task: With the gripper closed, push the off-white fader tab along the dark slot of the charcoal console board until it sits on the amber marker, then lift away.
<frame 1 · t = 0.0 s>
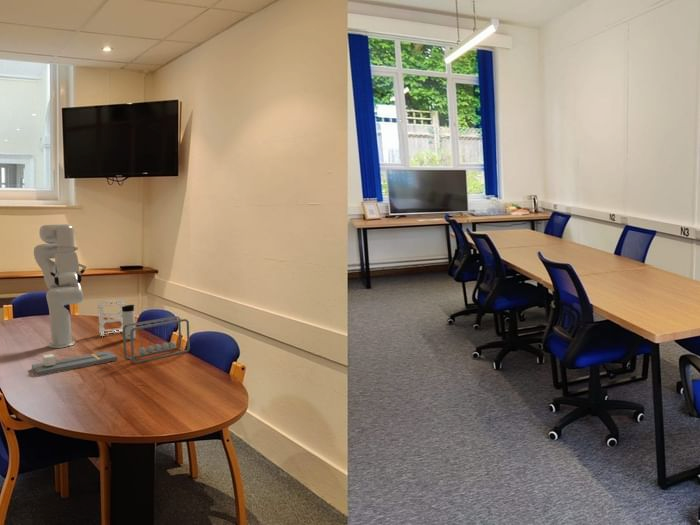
hand: (68, 284, 253), 37 cm above the table, tool pointing down, fingers open, 9 cm apart
console board: (75, 364, 242), on the table
film strip holder: (112, 333, 301), on the table
fader tab: (49, 360, 234), point 4 cm above the table, slide at 0.0 cm
newton's cradle: (158, 356, 256), on the table
travel mug: (130, 339, 287), on the table
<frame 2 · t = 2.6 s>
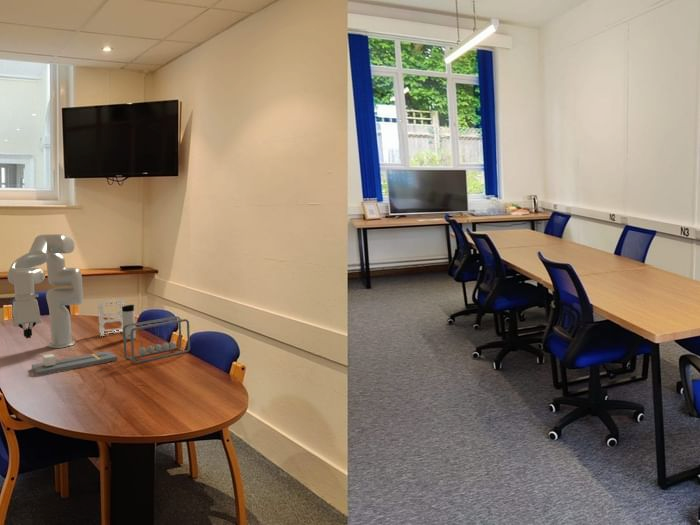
hand: (28, 337, 228), 17 cm above the table, tool pointing down, fingers closed
nothing on the table moved.
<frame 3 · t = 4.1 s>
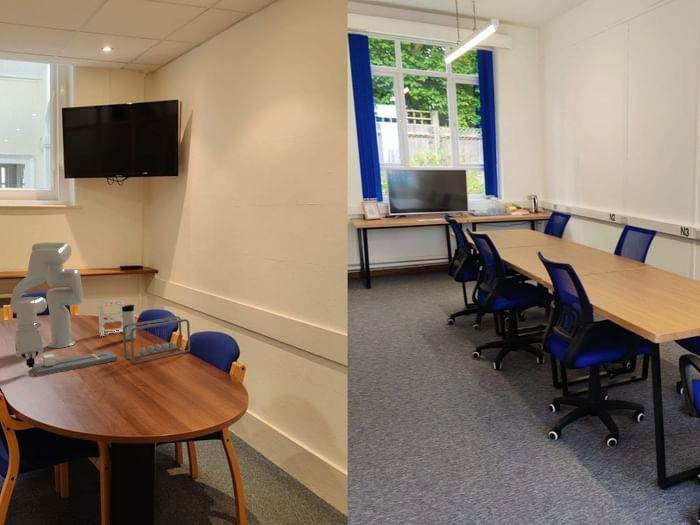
hand: (30, 366, 230), 3 cm above the table, tool pointing down, fingers closed
nothing on the table moved.
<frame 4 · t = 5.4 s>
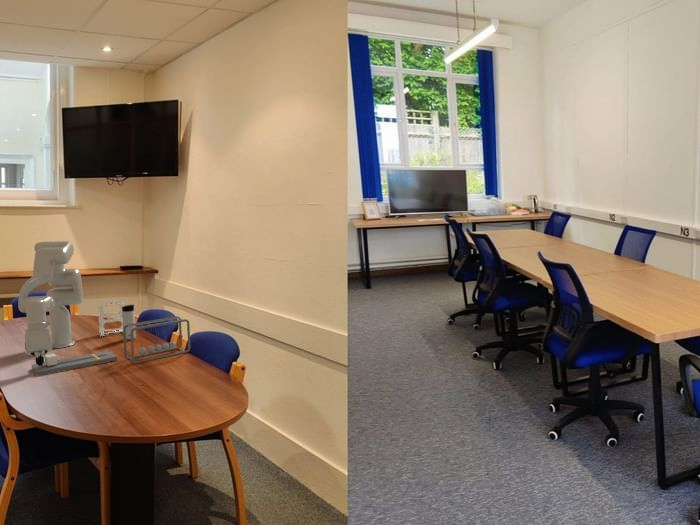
hand: (40, 365, 232), 3 cm above the table, tool pointing down, fingers closed
fader tab: (50, 359, 235), point 4 cm above the table, slide at 0.8 cm, touching gripper
everything else where it was.
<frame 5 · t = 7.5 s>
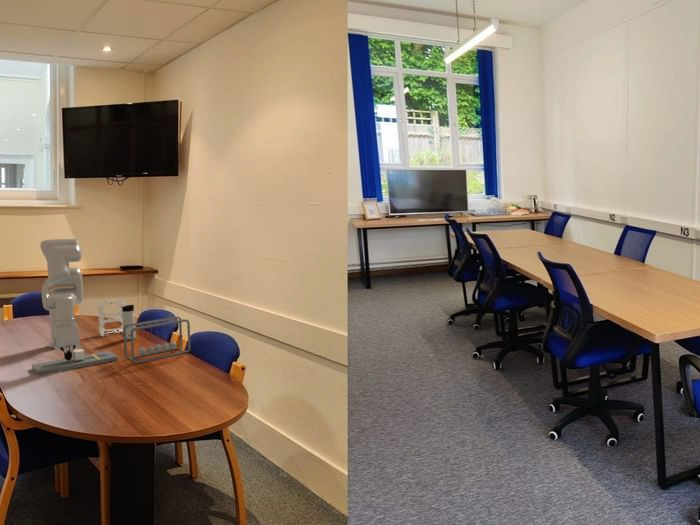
hand: (68, 359, 240), 3 cm above the table, tool pointing down, fingers closed
fader tab: (78, 354, 243), point 4 cm above the table, slide at 12.5 cm, touching gripper
everything else where it was.
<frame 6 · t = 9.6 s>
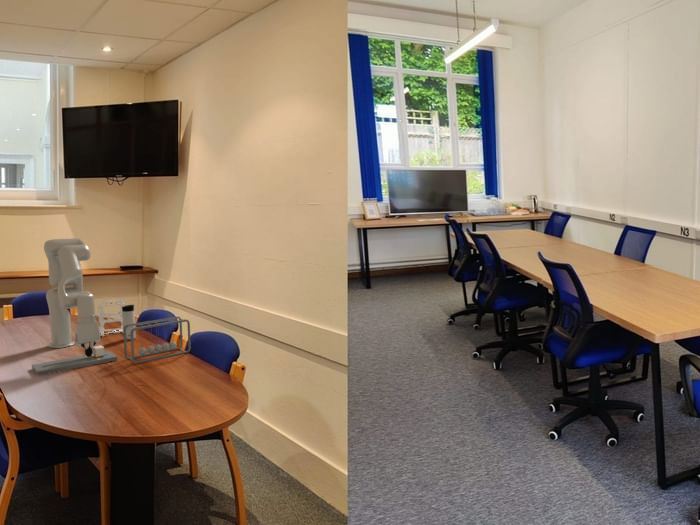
hand: (89, 356, 246), 3 cm above the table, tool pointing down, fingers closed
fader tab: (98, 351, 248), point 4 cm above the table, slide at 21.5 cm, touching gripper
everything else where it was.
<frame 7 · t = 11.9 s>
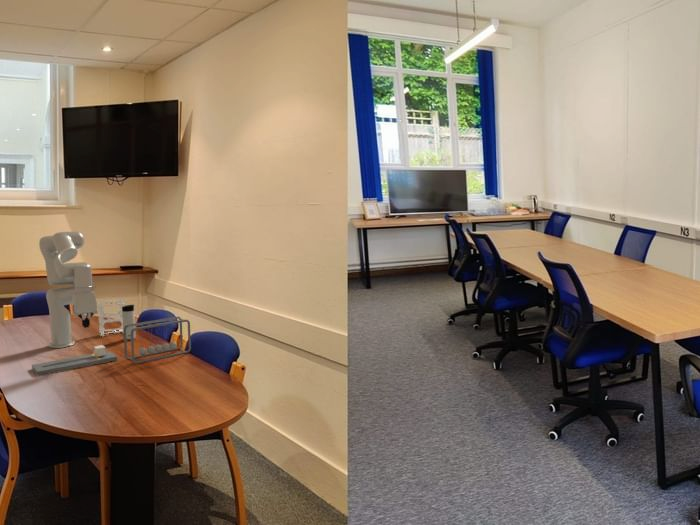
hand: (86, 327, 244), 17 cm above the table, tool pointing down, fingers closed
fader tab: (99, 351, 249), point 4 cm above the table, slide at 22.0 cm
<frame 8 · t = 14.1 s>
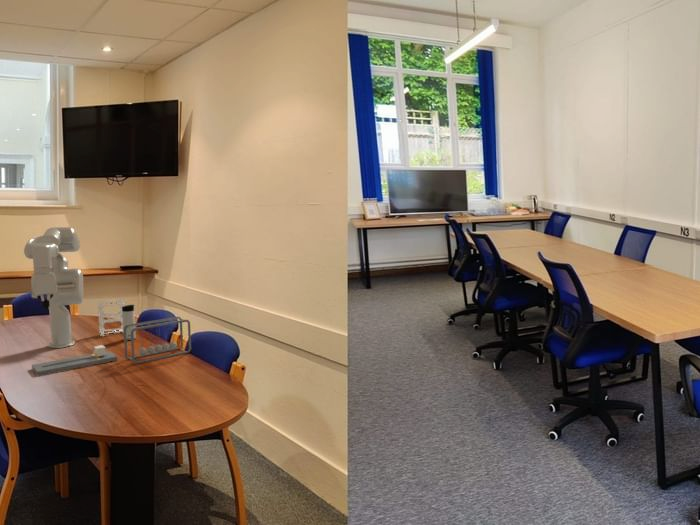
hand: (45, 308, 240), 27 cm above the table, tool pointing down, fingers closed
at the end: fader tab slide at 22.0 cm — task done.
